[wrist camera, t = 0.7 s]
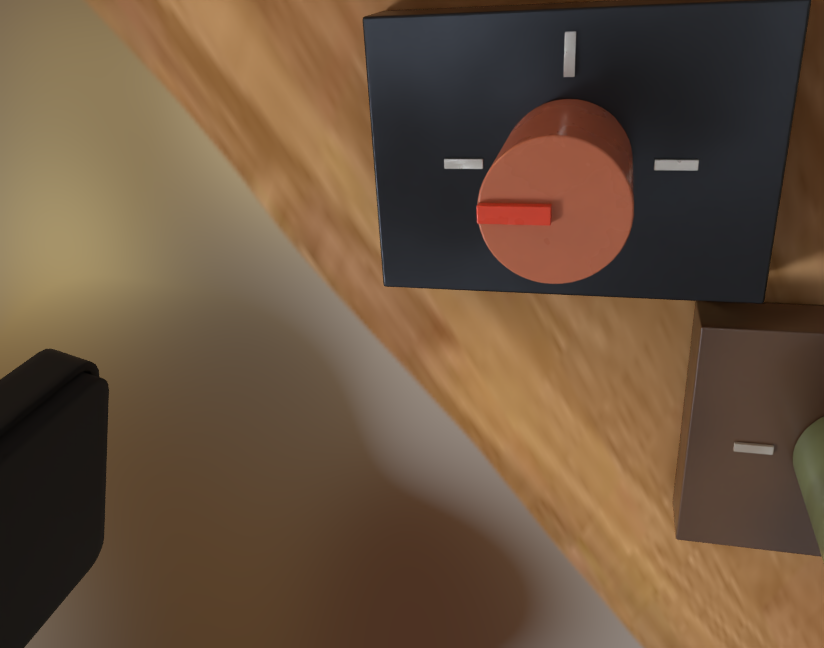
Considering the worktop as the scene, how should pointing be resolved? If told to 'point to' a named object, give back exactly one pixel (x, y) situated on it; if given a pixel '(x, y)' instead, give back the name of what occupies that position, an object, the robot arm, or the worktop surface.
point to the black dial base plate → (616, 93)
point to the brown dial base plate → (748, 425)
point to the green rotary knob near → (812, 476)
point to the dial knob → (559, 193)
